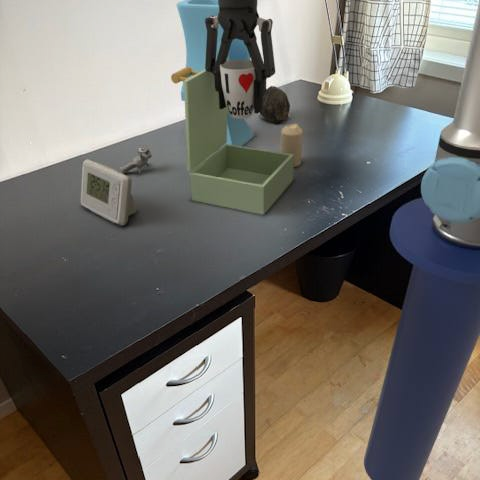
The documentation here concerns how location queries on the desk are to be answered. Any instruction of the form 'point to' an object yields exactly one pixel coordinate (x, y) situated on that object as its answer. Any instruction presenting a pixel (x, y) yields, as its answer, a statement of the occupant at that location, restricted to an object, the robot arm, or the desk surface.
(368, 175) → the desk surface
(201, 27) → the planter
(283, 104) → the rock
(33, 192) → the desk surface
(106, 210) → the digital clock
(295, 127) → the candle
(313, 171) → the desk surface
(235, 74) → the cup
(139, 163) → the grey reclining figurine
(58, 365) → the desk surface
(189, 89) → the lid
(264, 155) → the chest
